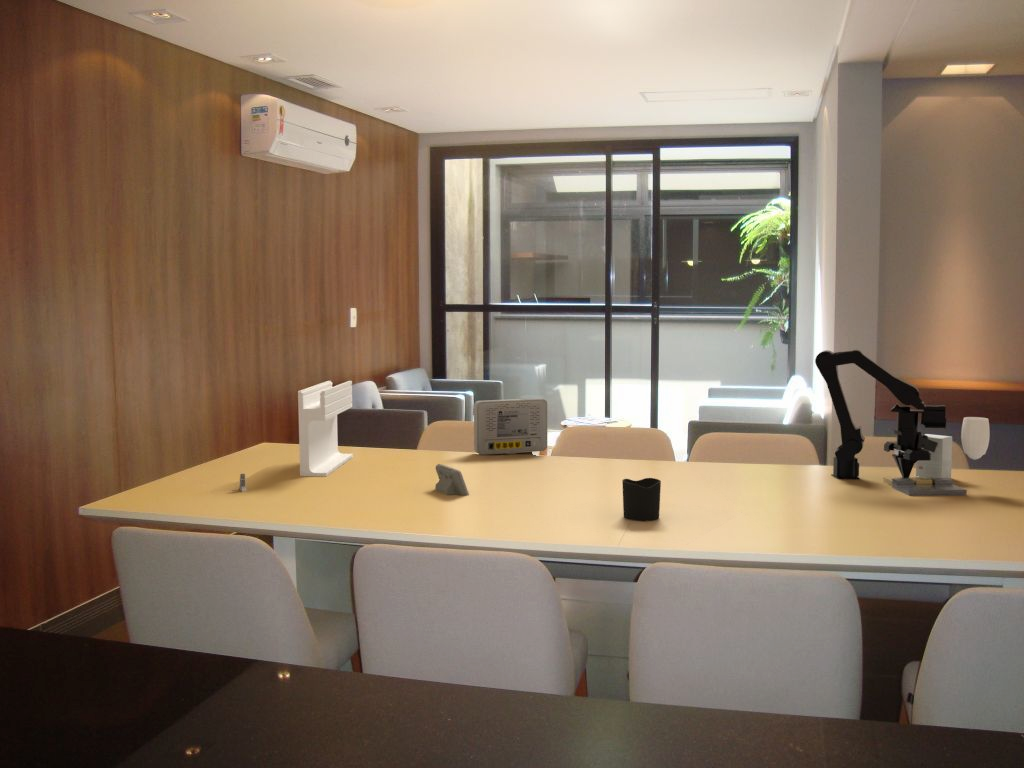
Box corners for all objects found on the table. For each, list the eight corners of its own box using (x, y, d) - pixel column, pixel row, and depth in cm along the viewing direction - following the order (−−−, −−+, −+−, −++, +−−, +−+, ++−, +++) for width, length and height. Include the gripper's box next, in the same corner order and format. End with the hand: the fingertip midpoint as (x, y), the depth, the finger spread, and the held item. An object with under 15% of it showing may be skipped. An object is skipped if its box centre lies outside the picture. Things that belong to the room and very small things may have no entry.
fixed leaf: (908, 497, 261) (909, 486, 260) (891, 489, 272) (892, 478, 271) (966, 497, 261) (966, 485, 261) (947, 488, 272) (947, 477, 272)
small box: (951, 479, 287) (953, 436, 286) (941, 481, 283) (942, 438, 282) (925, 475, 293) (927, 433, 292) (915, 477, 289) (916, 435, 288)
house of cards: (216, 499, 264) (215, 472, 264) (248, 496, 268) (247, 469, 267) (220, 505, 256) (219, 477, 255) (253, 503, 260) (252, 475, 259)
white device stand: (329, 463, 319) (328, 380, 316) (353, 463, 318) (351, 380, 316) (300, 484, 284) (297, 391, 281) (326, 484, 283) (324, 391, 281)
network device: (541, 453, 338) (541, 397, 336) (550, 457, 330) (550, 399, 328) (472, 457, 330) (471, 400, 328) (479, 461, 322) (479, 402, 320)
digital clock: (471, 503, 257) (471, 470, 256) (443, 505, 255) (443, 471, 254) (458, 493, 270) (458, 461, 269) (432, 495, 268) (431, 463, 267)
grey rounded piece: (958, 492, 268) (961, 419, 266) (959, 487, 274) (962, 416, 272) (987, 494, 264) (990, 420, 262) (987, 489, 271) (990, 417, 269)
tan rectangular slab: (899, 491, 269) (899, 480, 269) (883, 484, 280) (883, 473, 280) (948, 490, 269) (948, 479, 269) (930, 483, 280) (930, 473, 280)
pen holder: (651, 526, 229) (651, 485, 229) (615, 522, 234) (616, 482, 234) (666, 518, 237) (666, 479, 237) (632, 514, 242) (632, 475, 241)
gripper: (949, 431, 270) (947, 485, 272) (920, 422, 289) (918, 473, 290) (911, 431, 270) (909, 486, 272) (884, 423, 289) (882, 473, 290)
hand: (905, 479), depth 281 cm, fingers closed
